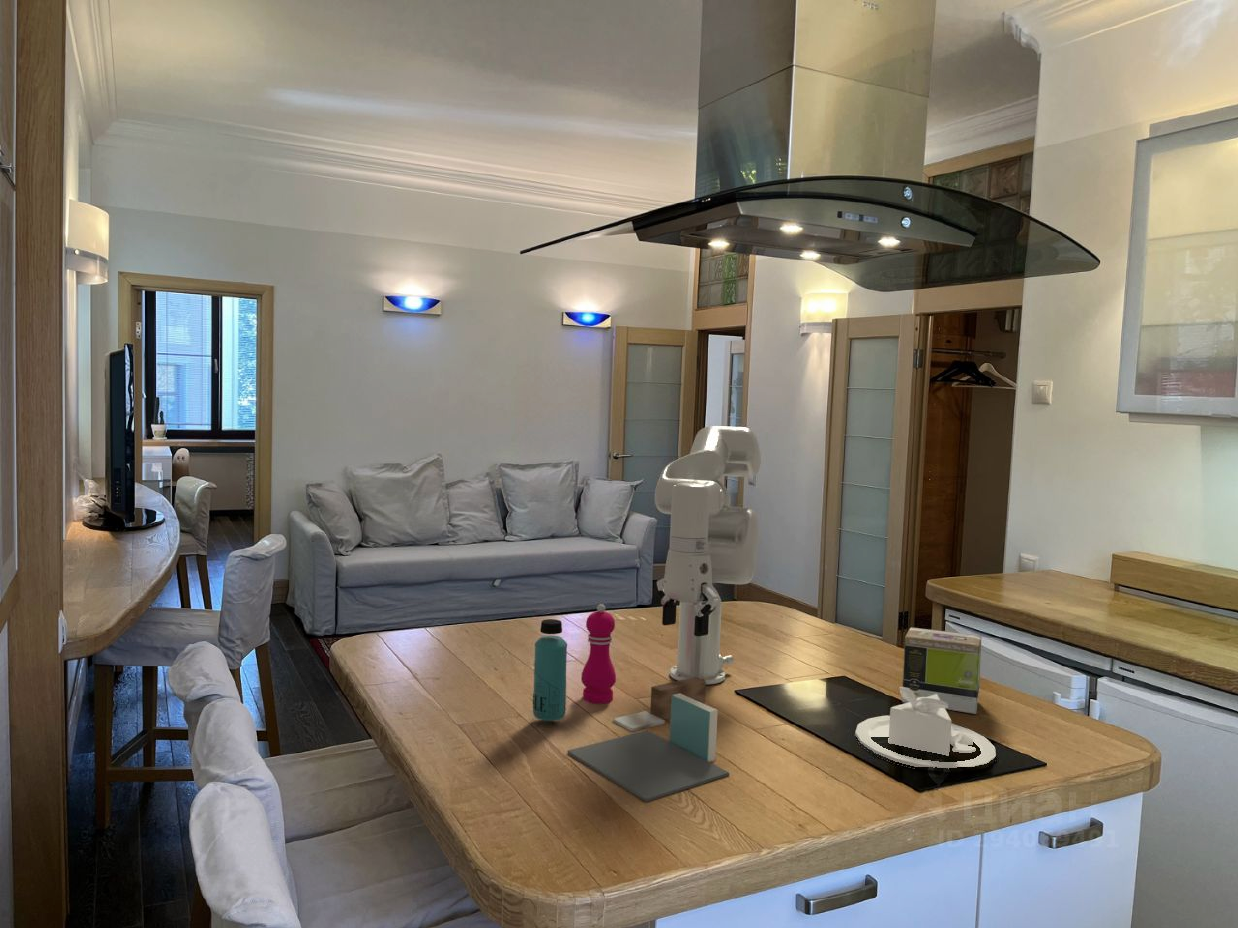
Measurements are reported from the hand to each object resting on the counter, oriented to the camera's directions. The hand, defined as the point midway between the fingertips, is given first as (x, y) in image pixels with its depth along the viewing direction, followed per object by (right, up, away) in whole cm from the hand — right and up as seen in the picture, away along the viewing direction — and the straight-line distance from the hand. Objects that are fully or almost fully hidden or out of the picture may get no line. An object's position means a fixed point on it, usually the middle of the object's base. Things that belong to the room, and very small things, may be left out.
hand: (684, 629), depth 174 cm
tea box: (+56, -18, +13) cm, 60 cm away
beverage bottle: (-27, -17, -7) cm, 32 cm away
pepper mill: (-18, -16, +7) cm, 25 cm away
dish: (+44, -20, -11) cm, 50 cm away
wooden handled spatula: (-5, -17, -2) cm, 18 cm away
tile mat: (-8, -18, -24) cm, 32 cm away
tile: (0, -18, -18) cm, 26 cm away
